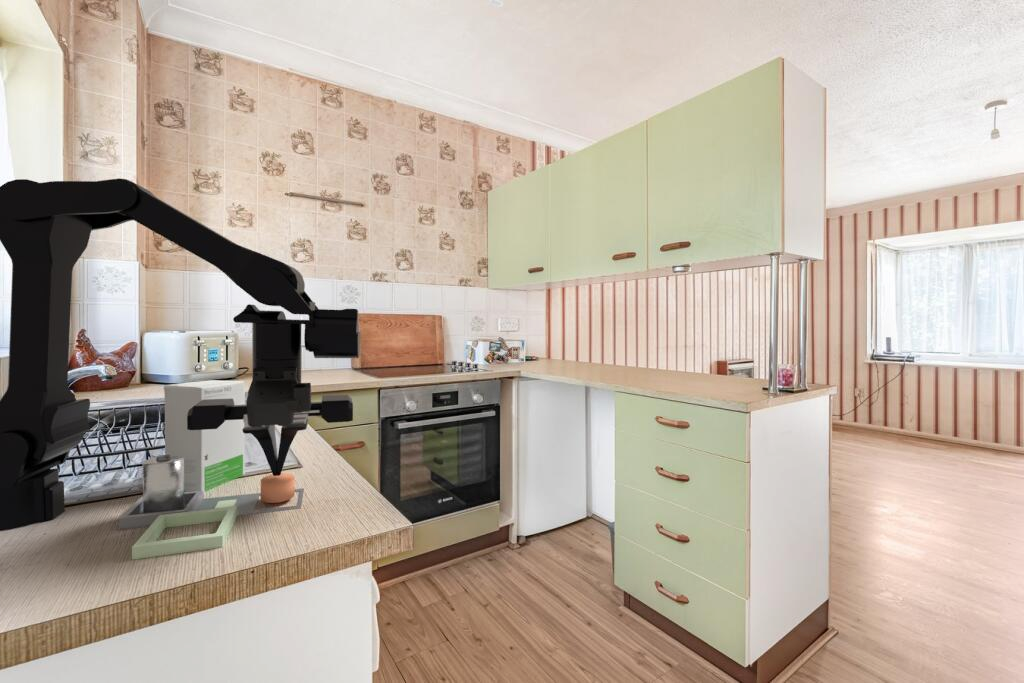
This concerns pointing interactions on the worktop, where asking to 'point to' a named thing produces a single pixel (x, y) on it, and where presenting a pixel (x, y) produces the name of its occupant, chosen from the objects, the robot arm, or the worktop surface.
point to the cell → (163, 484)
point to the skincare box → (205, 434)
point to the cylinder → (277, 488)
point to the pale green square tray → (153, 548)
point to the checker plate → (199, 507)
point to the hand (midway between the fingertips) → (277, 474)
